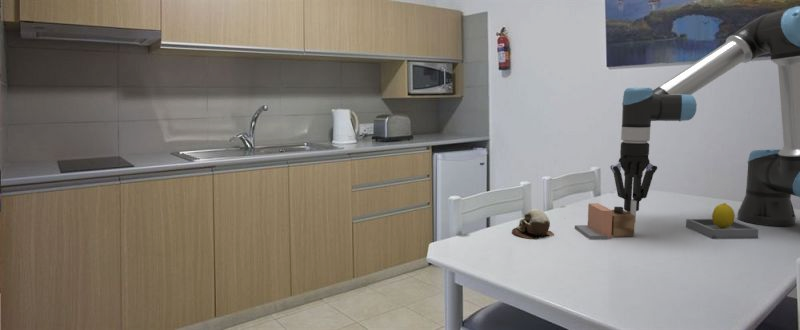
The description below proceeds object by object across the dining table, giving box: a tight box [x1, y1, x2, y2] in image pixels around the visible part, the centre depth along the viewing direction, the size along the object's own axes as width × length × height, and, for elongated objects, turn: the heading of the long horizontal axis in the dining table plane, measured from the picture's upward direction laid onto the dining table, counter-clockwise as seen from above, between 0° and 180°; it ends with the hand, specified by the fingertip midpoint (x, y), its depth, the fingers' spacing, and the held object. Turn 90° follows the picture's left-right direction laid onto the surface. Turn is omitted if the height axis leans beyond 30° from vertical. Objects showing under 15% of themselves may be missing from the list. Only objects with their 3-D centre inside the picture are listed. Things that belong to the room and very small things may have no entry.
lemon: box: [711, 202, 735, 229], centre depth 149 cm, size 6×6×8 cm
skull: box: [511, 208, 555, 240], centre depth 149 cm, size 12×10×10 cm
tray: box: [685, 218, 759, 240], centre depth 149 cm, size 13×13×2 cm
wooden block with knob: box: [611, 206, 636, 237], centre depth 149 cm, size 6×8×8 cm
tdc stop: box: [574, 202, 613, 240], centre depth 149 cm, size 6×12×8 cm, turn 1°
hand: (630, 221), depth 149 cm, fingers closed
